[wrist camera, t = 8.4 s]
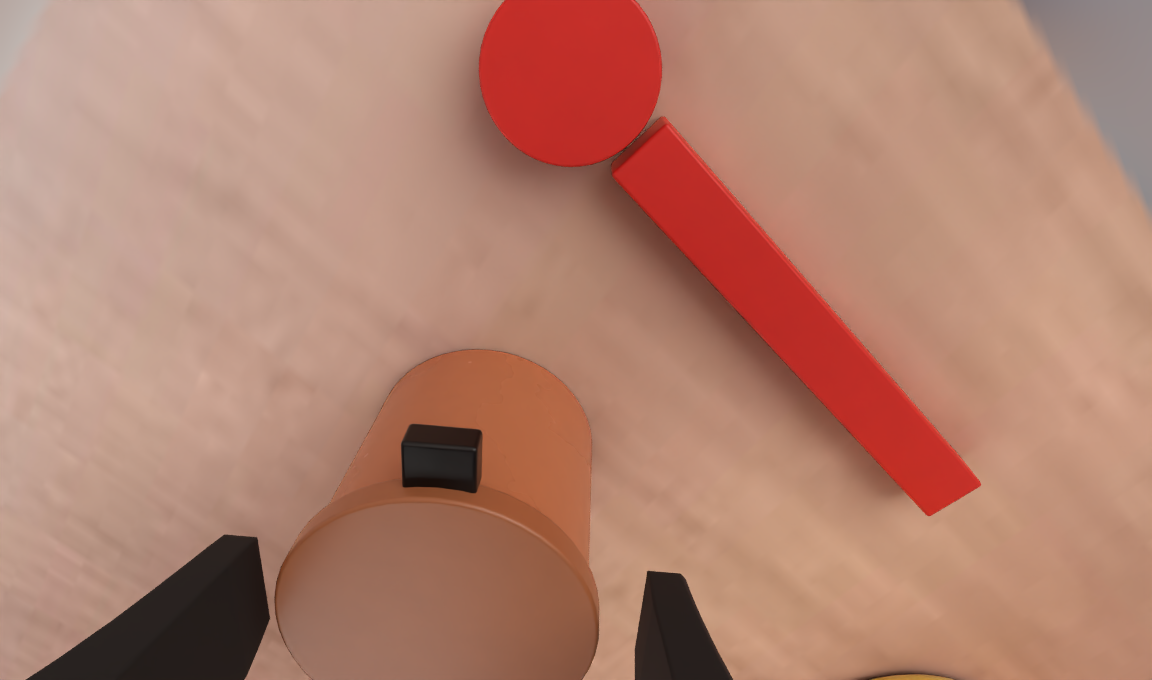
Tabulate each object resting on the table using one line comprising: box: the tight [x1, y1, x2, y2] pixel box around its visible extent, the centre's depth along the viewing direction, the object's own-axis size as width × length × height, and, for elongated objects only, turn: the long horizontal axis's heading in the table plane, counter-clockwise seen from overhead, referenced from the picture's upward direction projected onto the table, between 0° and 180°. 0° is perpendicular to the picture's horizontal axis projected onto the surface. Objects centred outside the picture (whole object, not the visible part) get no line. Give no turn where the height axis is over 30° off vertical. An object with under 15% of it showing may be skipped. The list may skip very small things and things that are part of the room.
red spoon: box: [479, 0, 981, 516], centre depth 14 cm, size 14×3×1 cm, turn 44°
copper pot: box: [275, 350, 599, 680], centre depth 14 cm, size 7×6×6 cm
